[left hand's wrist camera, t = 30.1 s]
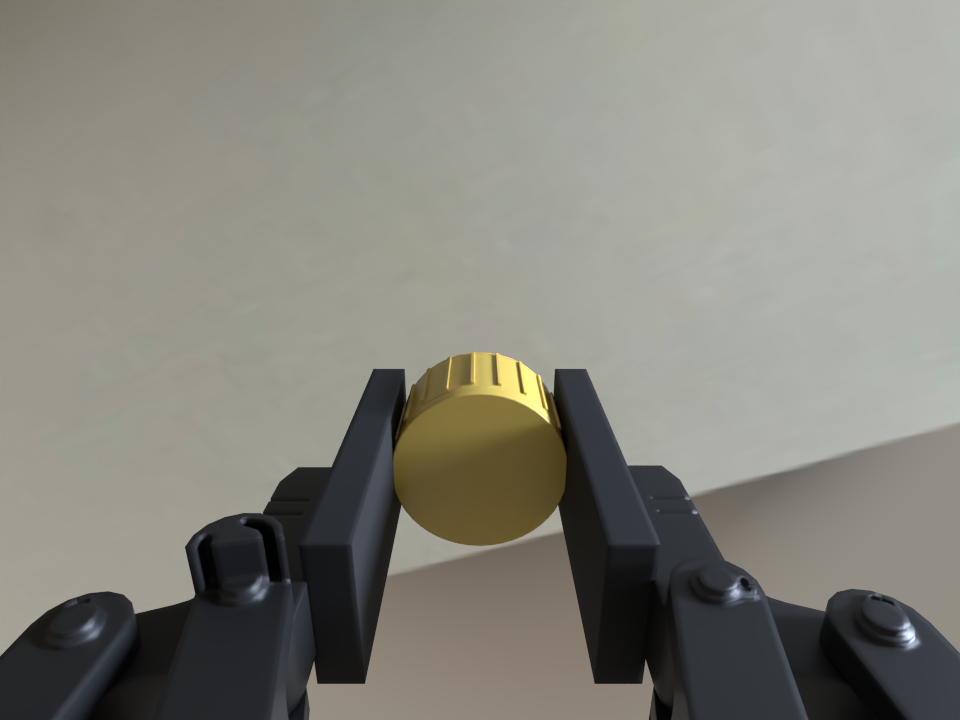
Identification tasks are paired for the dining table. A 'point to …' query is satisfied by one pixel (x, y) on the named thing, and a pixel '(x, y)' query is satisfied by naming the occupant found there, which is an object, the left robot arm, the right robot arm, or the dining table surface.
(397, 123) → the dining table surface
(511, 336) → the dining table surface
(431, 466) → the cap
